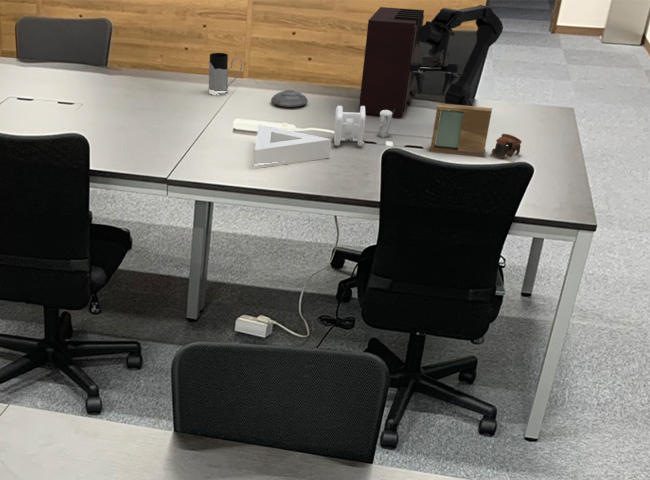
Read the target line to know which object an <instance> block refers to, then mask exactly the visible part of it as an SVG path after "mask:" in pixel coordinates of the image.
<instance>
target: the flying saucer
mask: <svg viewBox="0 0 650 480" xmlns="http://www.w3.org/2000/svg"><path fill="white" fill-rule="evenodd" d="M270 101H271V103H272V104H274V105H277V106H280V107H287V108H293V107H294V108H295V107H301V106H304V105H306V104H308V102H309V100H308V98H307V97H306V95H304V94H303V93H301V92H299V91H297V90H296V91H295V90H293V89H286V90H283V91H280V92H279V91H278V92H277V93H276V94H274V95H272V97H271V99H270Z"/></svg>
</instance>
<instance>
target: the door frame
mask: <svg viewBox="0 0 650 480" xmlns="http://www.w3.org/2000/svg"><path fill="white" fill-rule="evenodd" d="M441 110H448V111H450V110H452V111H463V112H464V116H463V122H462V127H461V133H460V139H459V145H458V148H454V147H444V146H436V139H437V133H438V126H439V120H440V114H441ZM492 112H493V107H487V106H486V107H484V106H473V105H472V106H464V105H453V104H445V103H441V102H438V104H437V106H436V112H435V119H434V125H433V131H432V138H431V144H430V148H429V152H431V153H433V152H434V153H443V154H451V155H452V154H453V155H461V156H471V157H482V158H484V157H485V154H486V146H487V145H486V144H487V139H488V133H489V128H490V122H491V118H492Z"/></svg>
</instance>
